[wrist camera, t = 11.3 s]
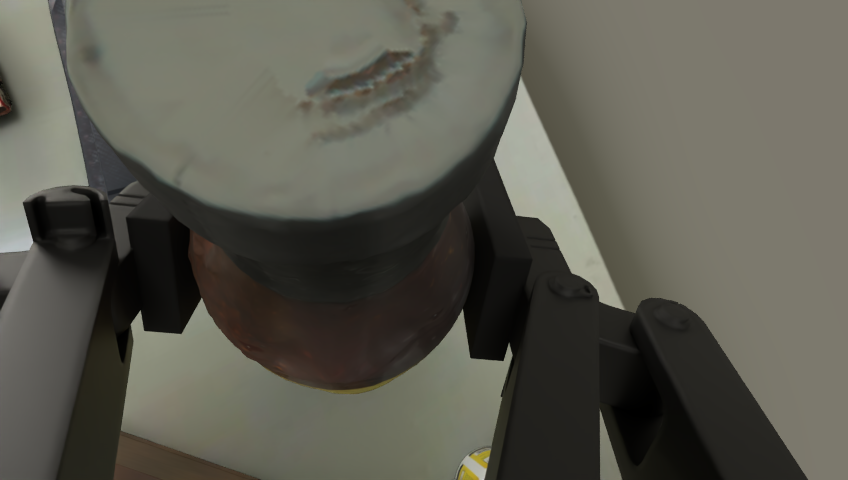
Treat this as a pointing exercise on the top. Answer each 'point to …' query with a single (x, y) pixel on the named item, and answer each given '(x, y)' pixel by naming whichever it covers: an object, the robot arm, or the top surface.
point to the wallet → (90, 127)
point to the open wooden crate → (164, 463)
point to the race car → (4, 101)
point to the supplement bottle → (474, 465)
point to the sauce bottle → (310, 160)
